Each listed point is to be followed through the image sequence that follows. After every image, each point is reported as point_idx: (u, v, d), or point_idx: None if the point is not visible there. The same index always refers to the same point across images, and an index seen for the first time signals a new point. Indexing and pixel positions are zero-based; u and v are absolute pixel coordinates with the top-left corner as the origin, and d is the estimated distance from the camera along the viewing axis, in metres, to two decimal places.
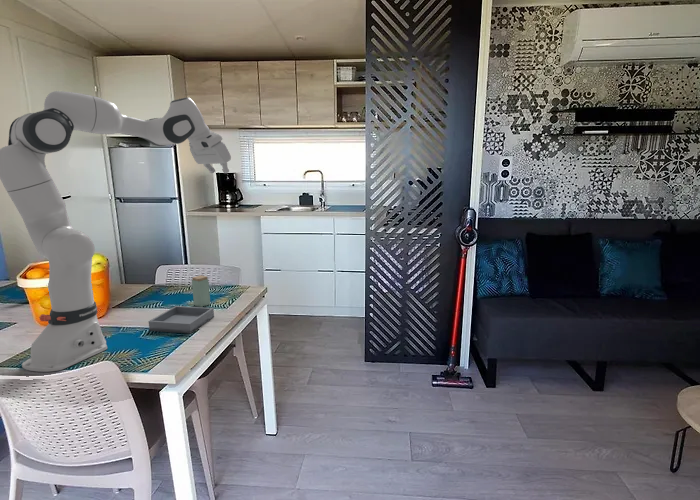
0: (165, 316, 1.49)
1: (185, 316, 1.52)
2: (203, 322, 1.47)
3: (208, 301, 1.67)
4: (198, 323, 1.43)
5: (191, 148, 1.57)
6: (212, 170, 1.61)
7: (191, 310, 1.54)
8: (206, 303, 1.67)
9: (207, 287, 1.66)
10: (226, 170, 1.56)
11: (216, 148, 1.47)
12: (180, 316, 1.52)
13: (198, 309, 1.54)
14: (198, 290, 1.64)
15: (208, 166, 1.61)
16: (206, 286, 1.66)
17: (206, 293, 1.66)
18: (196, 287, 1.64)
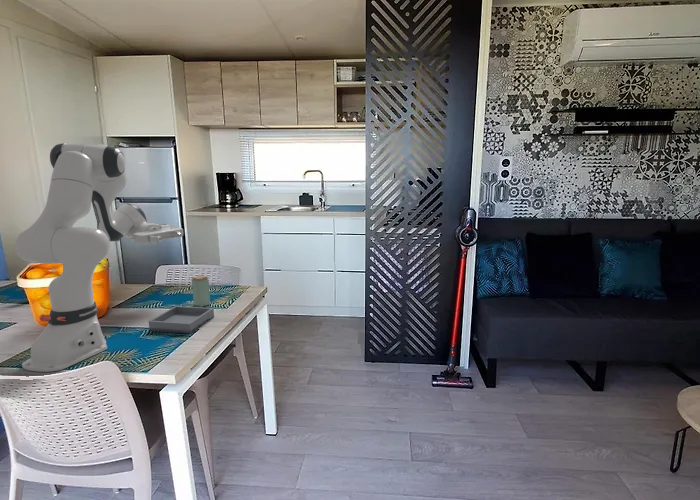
0: (165, 316, 1.49)
1: (185, 316, 1.52)
2: (203, 322, 1.47)
3: (208, 301, 1.67)
4: (198, 323, 1.43)
5: (136, 233, 1.65)
6: None
7: (191, 310, 1.54)
8: (206, 303, 1.67)
9: (207, 287, 1.66)
10: None
11: None
12: (180, 316, 1.52)
13: (198, 309, 1.54)
14: (198, 290, 1.64)
15: None
16: (206, 286, 1.66)
17: (206, 293, 1.66)
18: (196, 287, 1.64)
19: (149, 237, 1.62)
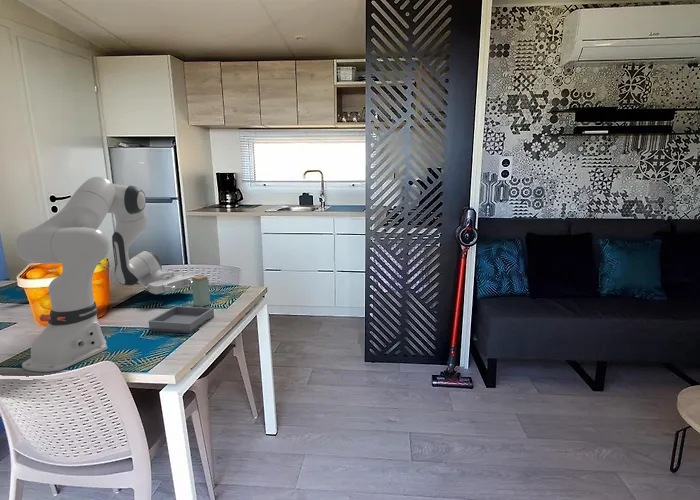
0: (165, 316, 1.49)
1: (185, 316, 1.52)
2: (203, 322, 1.47)
3: (208, 301, 1.67)
4: (198, 323, 1.43)
5: (151, 282, 1.71)
6: None
7: (191, 310, 1.54)
8: (206, 303, 1.67)
9: (207, 287, 1.66)
10: None
11: None
12: (180, 316, 1.52)
13: (198, 309, 1.54)
14: (198, 290, 1.64)
15: None
16: (206, 286, 1.66)
17: (206, 293, 1.66)
18: (196, 287, 1.64)
19: (163, 287, 1.69)
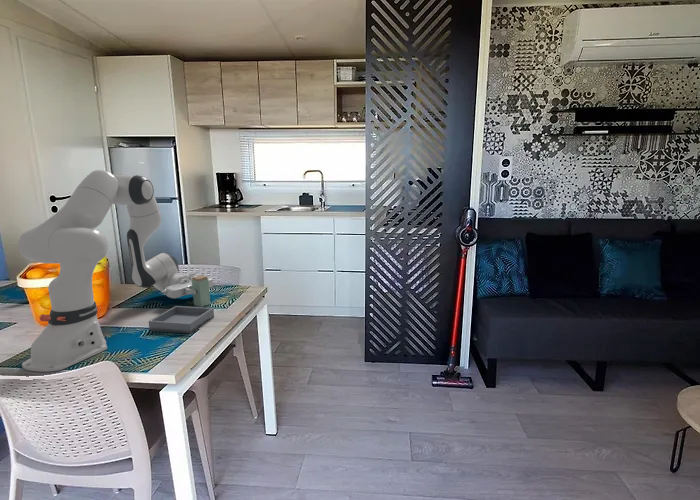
0: (165, 316, 1.49)
1: (185, 316, 1.52)
2: (203, 322, 1.47)
3: (208, 301, 1.67)
4: (198, 323, 1.43)
5: (168, 286, 1.65)
6: None
7: (191, 310, 1.54)
8: (206, 303, 1.67)
9: (207, 287, 1.66)
10: None
11: None
12: (180, 316, 1.52)
13: (198, 309, 1.54)
14: (198, 290, 1.64)
15: None
16: (206, 286, 1.66)
17: (206, 293, 1.66)
18: (196, 287, 1.64)
19: (185, 290, 1.64)
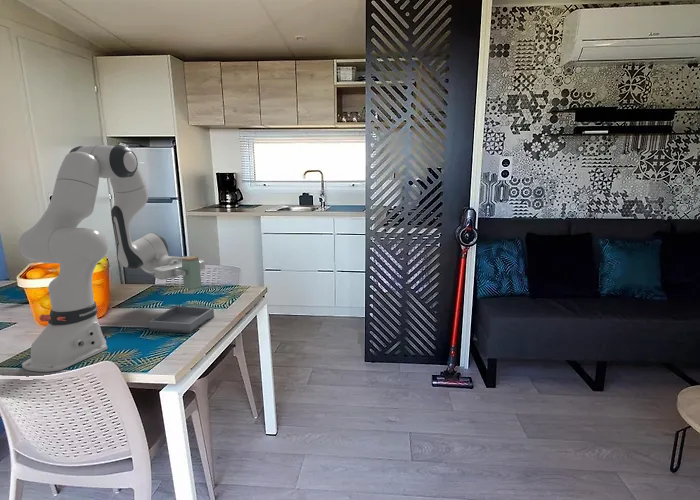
0: (165, 316, 1.49)
1: (185, 316, 1.52)
2: (203, 322, 1.47)
3: (199, 283, 1.58)
4: (198, 323, 1.43)
5: (156, 267, 1.55)
6: None
7: (191, 310, 1.54)
8: (196, 285, 1.57)
9: (198, 268, 1.56)
10: None
11: None
12: (180, 316, 1.52)
13: (198, 309, 1.54)
14: (188, 271, 1.54)
15: None
16: (197, 267, 1.56)
17: (197, 274, 1.56)
18: (186, 268, 1.54)
19: (175, 271, 1.54)
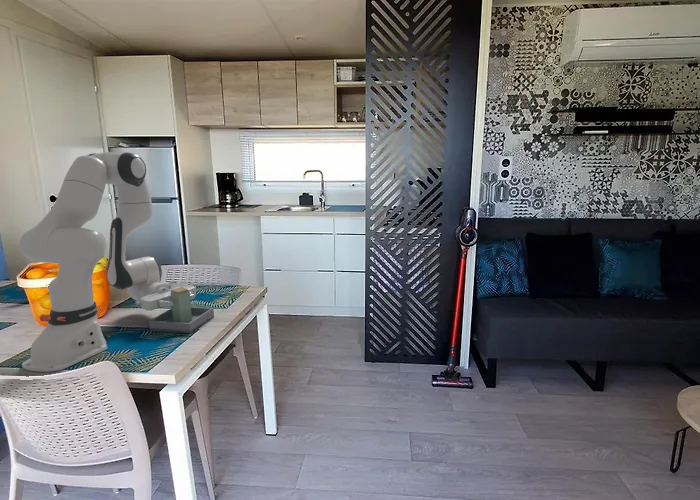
0: (165, 316, 1.49)
1: None
2: (203, 322, 1.47)
3: (189, 317, 1.47)
4: (198, 323, 1.43)
5: (143, 296, 1.45)
6: None
7: (191, 310, 1.54)
8: (187, 319, 1.46)
9: (188, 301, 1.46)
10: None
11: None
12: None
13: (198, 309, 1.54)
14: (177, 305, 1.43)
15: None
16: (187, 300, 1.46)
17: (187, 307, 1.46)
18: (175, 301, 1.44)
19: (159, 302, 1.42)
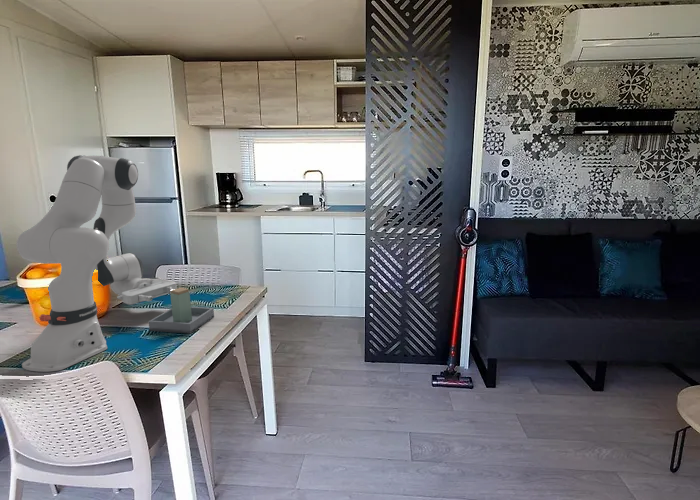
0: (165, 316, 1.49)
1: None
2: (203, 322, 1.47)
3: (189, 317, 1.47)
4: (198, 323, 1.43)
5: (125, 291, 1.51)
6: None
7: (191, 310, 1.54)
8: (187, 319, 1.46)
9: (188, 301, 1.46)
10: None
11: None
12: None
13: (198, 309, 1.54)
14: (177, 305, 1.43)
15: None
16: (187, 300, 1.46)
17: (187, 307, 1.46)
18: (175, 301, 1.44)
19: (139, 297, 1.48)
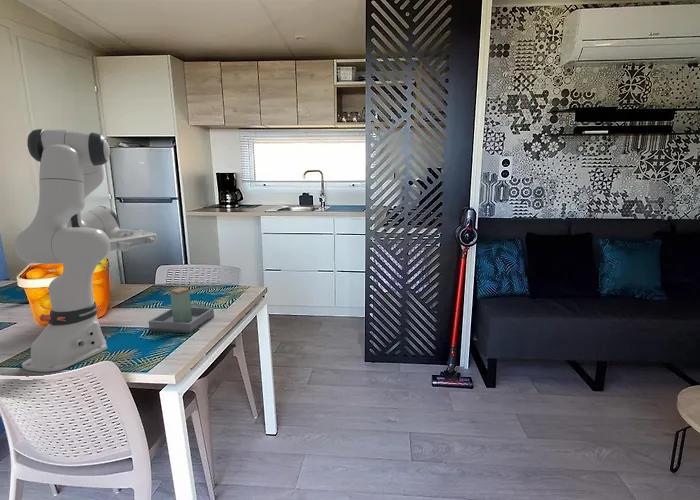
0: (165, 316, 1.49)
1: None
2: (203, 322, 1.47)
3: (189, 317, 1.47)
4: (198, 323, 1.43)
5: None
6: None
7: (191, 310, 1.54)
8: (187, 319, 1.46)
9: (188, 301, 1.46)
10: None
11: None
12: None
13: (198, 309, 1.54)
14: (177, 305, 1.43)
15: None
16: (187, 300, 1.46)
17: (187, 307, 1.46)
18: (175, 301, 1.44)
19: (118, 243, 1.51)
